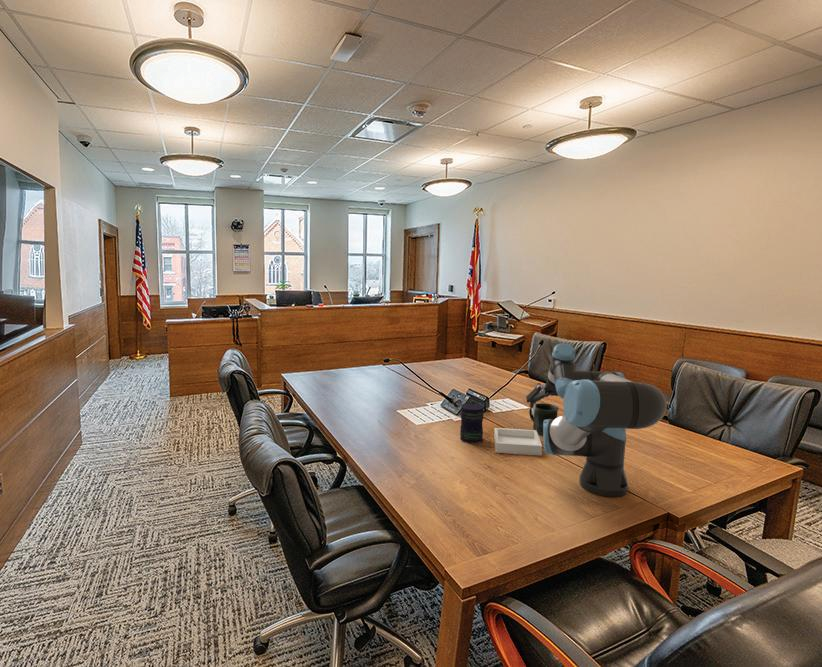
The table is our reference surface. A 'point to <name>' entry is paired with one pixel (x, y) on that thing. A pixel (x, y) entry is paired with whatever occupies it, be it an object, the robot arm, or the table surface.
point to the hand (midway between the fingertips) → (550, 412)
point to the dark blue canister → (471, 422)
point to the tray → (517, 441)
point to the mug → (542, 415)
